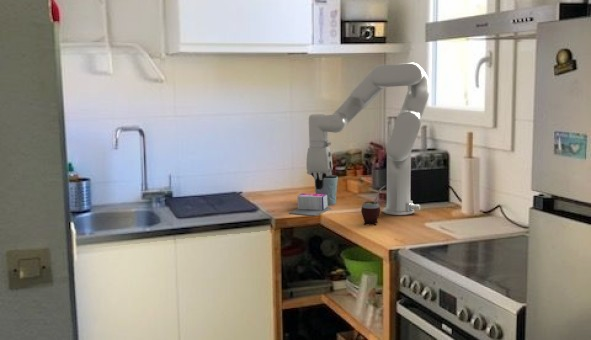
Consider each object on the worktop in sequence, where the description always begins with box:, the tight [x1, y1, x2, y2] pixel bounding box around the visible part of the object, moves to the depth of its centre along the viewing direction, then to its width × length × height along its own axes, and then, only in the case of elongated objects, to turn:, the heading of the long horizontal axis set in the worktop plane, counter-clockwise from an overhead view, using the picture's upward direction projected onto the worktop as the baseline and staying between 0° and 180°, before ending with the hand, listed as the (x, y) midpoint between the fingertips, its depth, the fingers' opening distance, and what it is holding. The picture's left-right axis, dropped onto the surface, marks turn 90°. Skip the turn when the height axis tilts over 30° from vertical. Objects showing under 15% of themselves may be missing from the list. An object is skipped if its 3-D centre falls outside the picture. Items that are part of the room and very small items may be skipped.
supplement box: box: [297, 192, 329, 210], centre depth 271 cm, size 6×6×12 cm
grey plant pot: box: [314, 174, 339, 207], centre depth 281 cm, size 10×10×12 cm
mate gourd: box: [360, 184, 387, 226], centre depth 244 cm, size 8×8×15 cm
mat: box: [288, 206, 332, 217], centre depth 268 cm, size 12×15×1 cm
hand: (319, 188), depth 267 cm, fingers closed
